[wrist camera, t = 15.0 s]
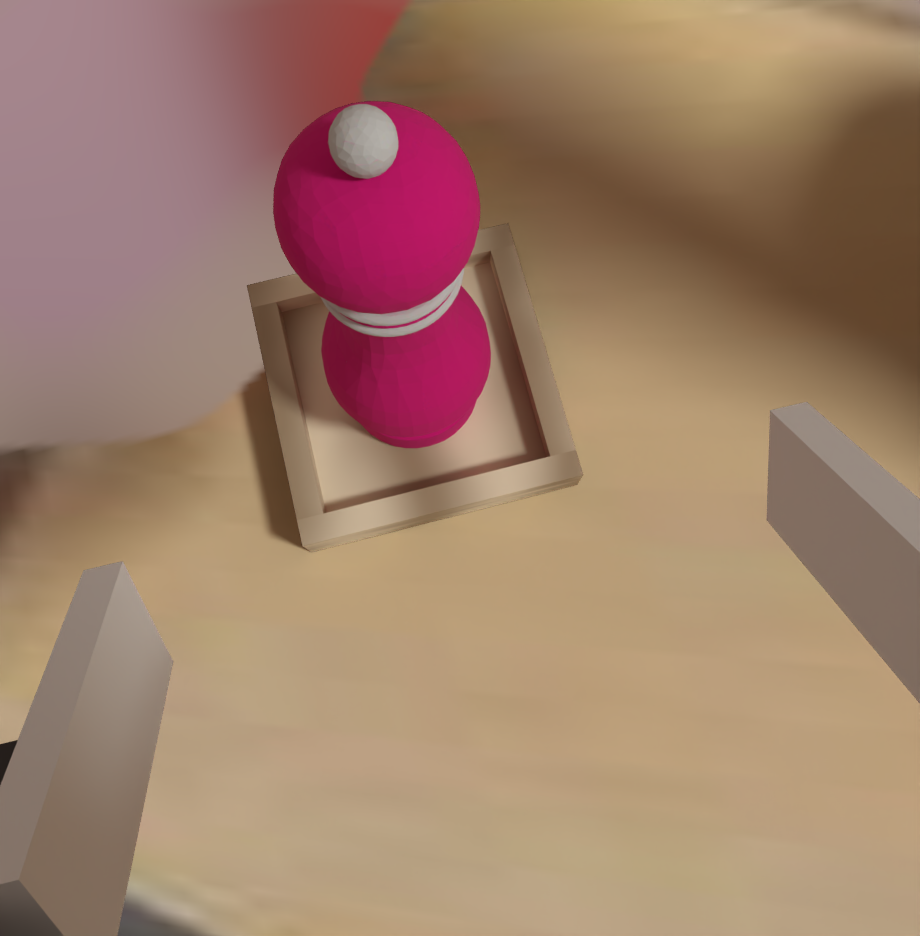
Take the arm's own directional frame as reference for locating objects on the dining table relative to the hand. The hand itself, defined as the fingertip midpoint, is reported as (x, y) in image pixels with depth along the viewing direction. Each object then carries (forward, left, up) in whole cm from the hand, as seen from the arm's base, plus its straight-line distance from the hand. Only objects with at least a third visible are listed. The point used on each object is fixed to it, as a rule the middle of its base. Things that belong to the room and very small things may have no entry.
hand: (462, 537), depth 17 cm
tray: (0, -11, -22) cm, 25 cm away
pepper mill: (0, -11, -21) cm, 24 cm away
